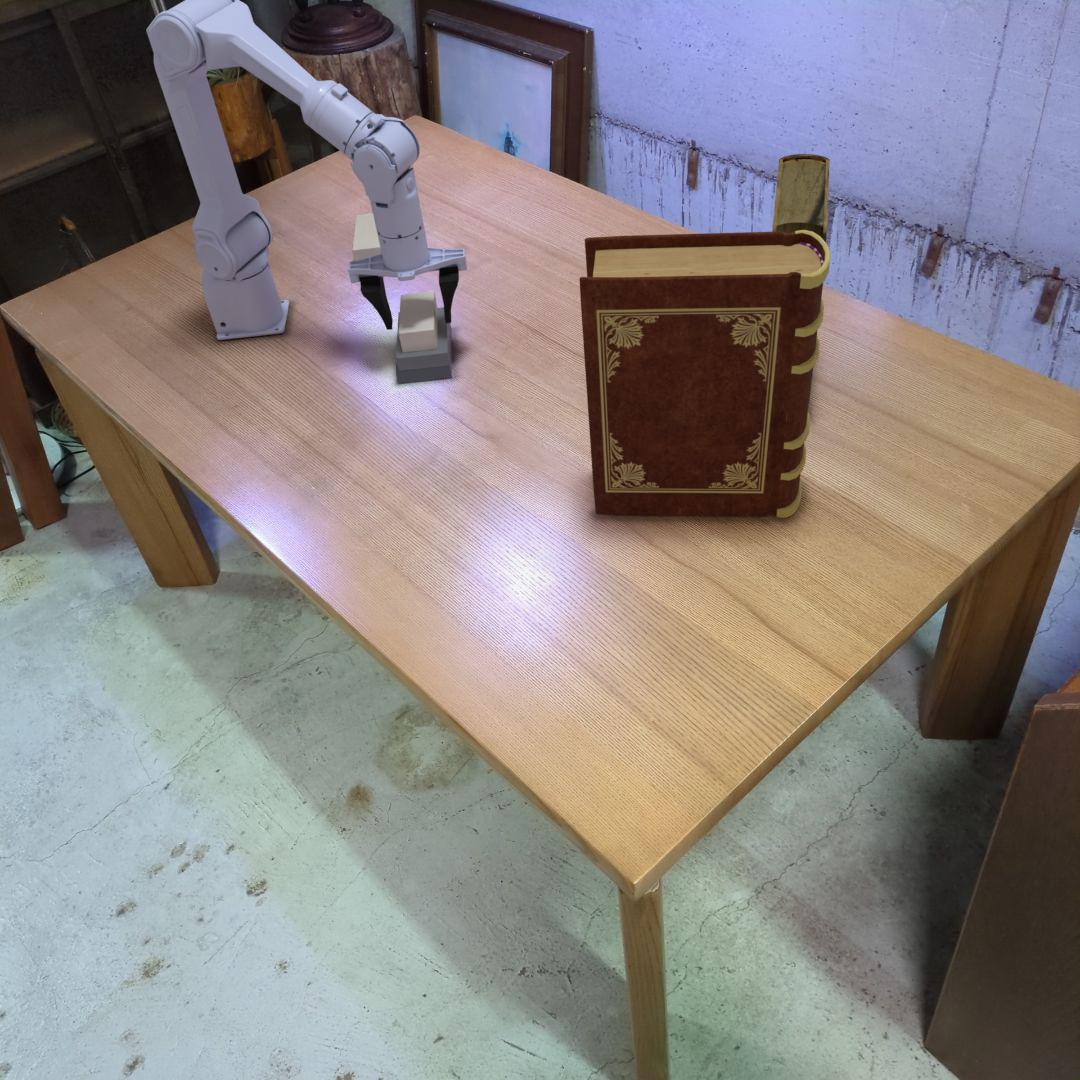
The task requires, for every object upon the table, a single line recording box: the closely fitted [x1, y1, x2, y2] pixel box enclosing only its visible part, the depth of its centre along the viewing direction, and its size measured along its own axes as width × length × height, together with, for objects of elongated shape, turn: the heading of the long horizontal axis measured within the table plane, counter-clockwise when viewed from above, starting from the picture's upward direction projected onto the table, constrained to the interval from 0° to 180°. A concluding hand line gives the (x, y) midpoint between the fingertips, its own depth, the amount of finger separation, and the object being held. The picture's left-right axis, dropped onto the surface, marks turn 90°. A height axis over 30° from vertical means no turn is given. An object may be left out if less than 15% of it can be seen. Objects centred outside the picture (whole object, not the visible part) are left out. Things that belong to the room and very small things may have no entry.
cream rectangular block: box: [399, 290, 439, 353], centre depth 137 cm, size 4×9×3 cm, turn 4°
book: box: [771, 153, 830, 244], centre depth 122 cm, size 16×6×25 cm, turn 168°
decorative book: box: [579, 230, 831, 519], centre depth 107 cm, size 22×8×30 cm, turn 84°
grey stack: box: [395, 306, 453, 385], centre depth 139 cm, size 7×11×4 cm, turn 4°
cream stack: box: [351, 212, 382, 261], centre depth 159 cm, size 7×11×4 cm, turn 4°
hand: (419, 322), depth 137 cm, fingers open, 7 cm apart
